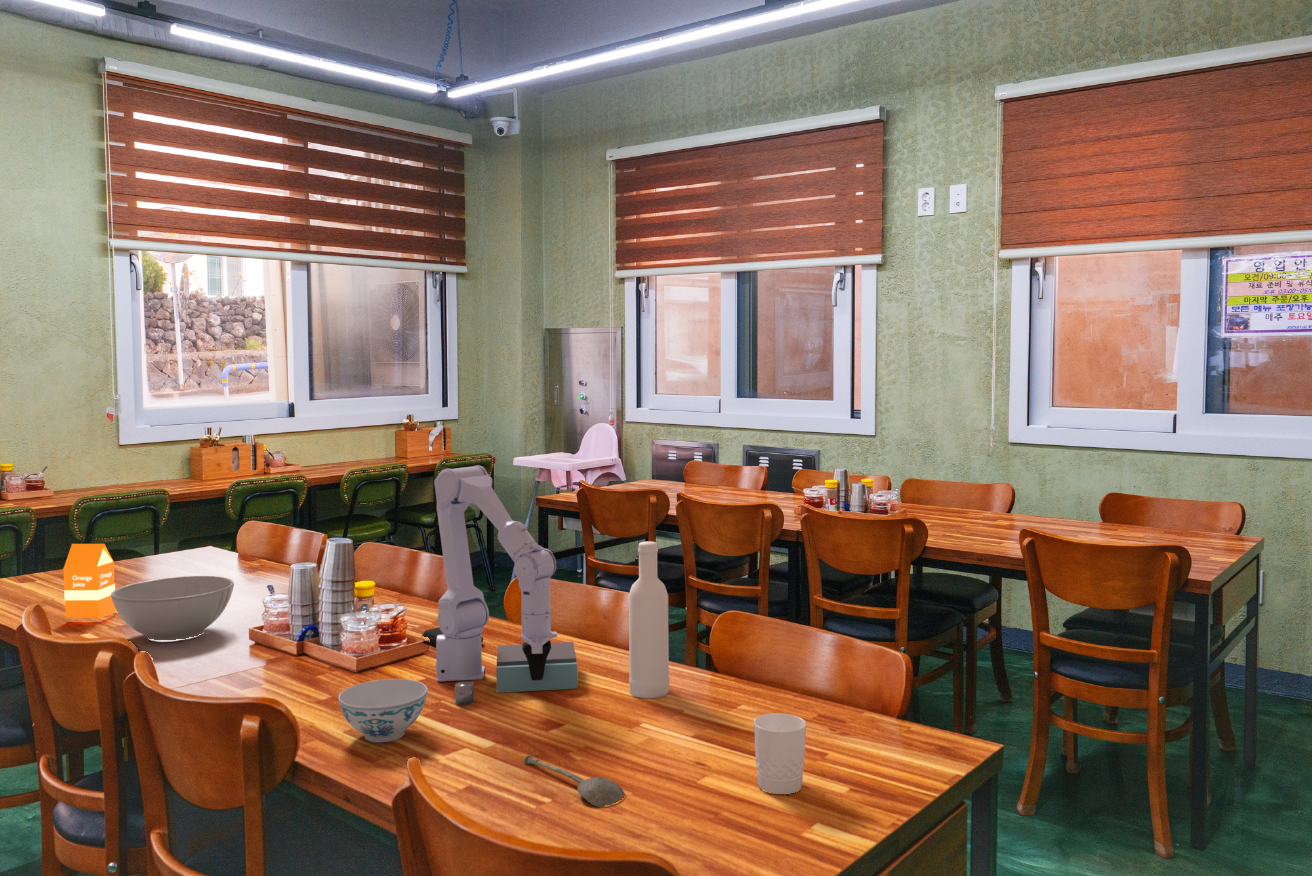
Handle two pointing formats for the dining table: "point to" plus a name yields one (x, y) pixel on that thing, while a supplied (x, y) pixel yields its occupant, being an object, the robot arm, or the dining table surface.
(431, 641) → the carrying case or bag
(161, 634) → the decorative bowl
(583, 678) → the dining table surface
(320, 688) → the dining table surface
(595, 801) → the soupspoon
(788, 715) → the white cup
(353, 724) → the chinaware
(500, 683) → the teal drawer
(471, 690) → the grey metallic cube
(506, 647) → the grey drawer housing
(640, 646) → the bottle
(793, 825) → the dining table surface
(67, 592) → the orange juice
